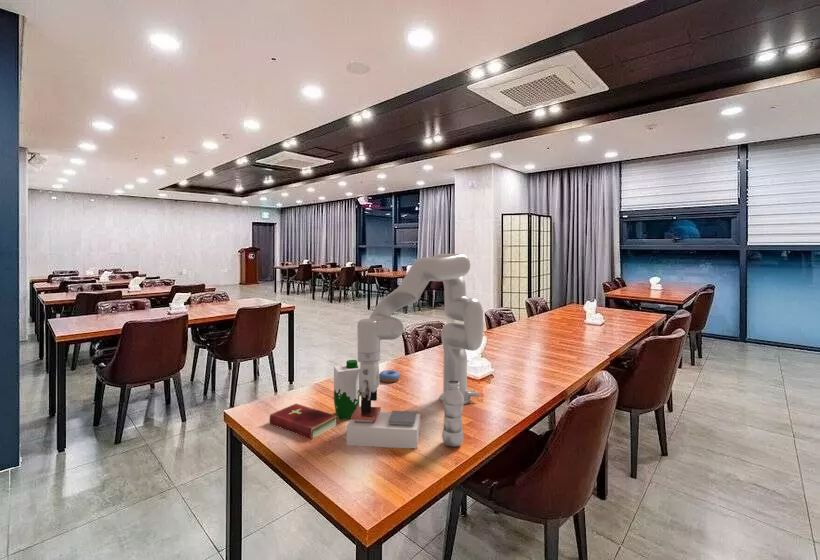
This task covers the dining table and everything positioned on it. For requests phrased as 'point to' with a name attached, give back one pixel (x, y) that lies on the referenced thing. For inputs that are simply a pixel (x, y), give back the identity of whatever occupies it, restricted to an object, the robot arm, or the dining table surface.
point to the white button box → (383, 433)
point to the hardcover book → (303, 420)
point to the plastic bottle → (453, 415)
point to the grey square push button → (403, 417)
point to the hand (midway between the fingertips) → (369, 405)
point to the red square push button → (366, 415)
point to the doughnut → (389, 376)
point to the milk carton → (346, 389)
